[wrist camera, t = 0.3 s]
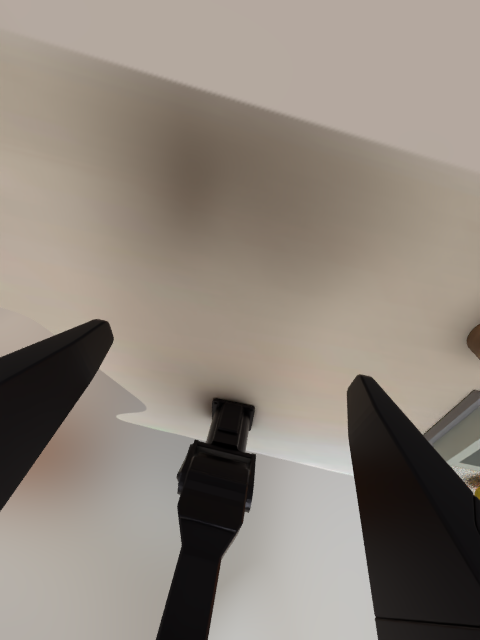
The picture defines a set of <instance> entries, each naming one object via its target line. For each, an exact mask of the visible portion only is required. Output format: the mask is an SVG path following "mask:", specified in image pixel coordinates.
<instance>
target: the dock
mask: <svg viewBox="0 0 480 640" xmlns="http://www.w3.org/2000/svg"><path fill="white" fill-rule="evenodd" d="M423 436H424V437H425V438H426V439H427V440H428V442H429V443H430V444H431V445H432V446H433V447H434V448H435V450H436V451H437V452H438V453H439V454H440V455H441V456H442V458H443V459H444V460H445V461H446V462H447V463H448V464H449V466H453V467H458V468H462V469H467V470H472V471H476V472H480V391H475V390H474V391H473V392H472V393H471V394H469V395H468V396H467V397H466V398H465V399H464V400H463V401H462V402H460V403H459V404H458V405H457V406H456V407H455V408H454V409H452V410H451V411H450V412H449V413H448V414H447V415H446V416H445V417H443V418H442V419H441V420H440V421H439V422H438V423H437V424H436V425H434V426H433V427H432V428H431V429H430V430H429V431H428V432H426V433H425V434H424V435H423Z"/></svg>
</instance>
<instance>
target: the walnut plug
mask: <svg viewBox="0 0 480 640" xmlns="http://www.w3.org/2000/svg"><path fill="white" fill-rule="evenodd" d="M467 345H468V347H469V348H470V350H471V351H472V352H473V353H474V354H475V355H476V356H477V357H478V358H479V360H480V324H479V325H478V326H476V327H475V328H474V329H473V330H472V331H471V333H470V334H469V336H468V338H467Z"/></svg>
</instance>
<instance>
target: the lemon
mask: <svg viewBox="0 0 480 640" xmlns="http://www.w3.org/2000/svg"><path fill="white" fill-rule="evenodd" d="M475 496H477V497H478V499H479V500H480V486H479V487H478V488H477V489H476V491H475Z"/></svg>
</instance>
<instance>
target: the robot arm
mask: <svg viewBox="0 0 480 640" xmlns="http://www.w3.org/2000/svg"><path fill="white" fill-rule="evenodd" d="M113 340H114V337H113V334H112V330H111V327H110V324H109V323H108V322H107V321H104V320H100V319H94V320H92V321H89V322H87V323H84V324H82V325H79V326H77V327H74V328H72V329H70V330H67V331H65V332H62V333H60V334H57V335H55V336H52V337H50V338H47V339H45V340H42V341H40V342H37V343H35V344H32V345H30V346H27V347H25V348H22V349H20V350H18V351H15V352H13V353H10V354H8V355H5V356H3V357H0V510H2V508H3V507H4V506H5V504H6V503H7V501H8V500H9V498H10V497H11V495H12V494H13V493H14V491H15V490H16V488H17V487H18V485H19V484H20V483H21V481H22V480H23V478H24V477H25V475H26V474H27V473H28V471H29V470H30V468H31V467H32V465H33V464H34V463H35V461H36V460H37V458H38V457H39V455H40V454H41V452H42V451H43V450H44V448H45V447H46V445H47V444H48V442H49V441H50V440H51V438H52V437H53V435H54V434H55V432H56V431H57V429H58V428H59V427H60V425H61V424H62V422H63V421H64V420H65V418H66V417H67V415H68V414H69V412H70V411H71V410H72V408H73V407H74V405H75V404H76V402H77V401H78V400H79V398H80V397H81V395H82V394H83V392H84V391H85V389H86V388H87V387H88V385H89V384H90V382H91V381H92V379H93V377H94V376H95V374H96V372H97V371H98V369H99V367H100V365H101V364H102V362H103V360H104V358H105V356H106V354H107V353H108V351H109V349H110V347H111V345H112V343H113ZM254 412H255V407H253V406H249V405H244V404H239V403H234V402H229V401H225V400H220V399H213V402H212V423H211V427H210V430H209V434H208V437H207V441H206V443H204V442H200V441H199V440H195V441H194V443H193V444H191V445H190V447H189V450H188V453H187V456H186V458H185V460H184V462H183V464H182V466H181V468H180V470H179V472H178V474H177V479H178V482H179V483H178V494H179V495H180V498H179V502H178V506H177V507H178V517H179V525H180V534H181V542H182V547H181V551H180V554H179V558H178V562H177V565H176V569H175V572H174V576H173V580H172V583H171V587H170V590H169V594H168V598H167V601H166V605H165V609H164V612H163V616H162V619H161V623H160V627H159V631H158V634H157V638H156V640H208V635H209V628H210V623H211V617H212V611H213V605H214V599H215V594H216V587H217V582H218V576H219V570H220V563H221V559H222V558H223V556H224V555H225V553H226V552H227V550H228V548H229V547H230V545H231V544H232V542H233V541H234V539H235V538H236V536H237V534H238V532H239V530H240V528H241V526H242V524H243V519H244V512H248V513H249V510H250V507H251V502H252V496H253V487H254V475H255V461H256V454H249V453H245V451H246V444H247V437H248V431H250V430H251V426H252V421H253V417H254ZM347 413H348V437H349V445H350V452H351V459H352V465H353V472H354V479H355V485H356V492H357V499H358V506H359V512H360V519H361V526H362V532H363V540H364V546H365V553H366V559H367V566H368V573H369V580H370V587H371V593H372V600H373V606H374V614H375V616H376V618H375V621H376V628H377V635H378V640H480V500H479V499H478V497H477V496H475V495H473V492H472V491H471V490H470V488H469V487H468V486H467V485H466V484H465V483H464V482H463V480H462V479H461V478H460V477H459V476H458V475H457V474H456V472H455V471H454V470H453V469H452V468H451V467H450V466H449V464H448V463H447V462H446V461H445V460H444V459H443V458H442V456H441V455H440V454H439V453H438V452H437V451H436V450H435V448H434V447H433V446H432V445H431V444H430V443H429V442H428V440H427V439H426V438H425V437H424V436H423V435H422V434H421V432H420V431H419V430H418V429H417V428H416V427H415V426H414V424H413V423H412V422H411V421H410V420H409V419H408V418H407V416H406V415H405V414H404V413H403V412H402V411H401V410H400V408H399V407H398V406H397V405H396V404H395V403H394V402H393V400H392V399H391V398H390V397H389V396H388V395H387V394H386V392H385V391H384V390H383V389H382V388H381V387H380V386H379V384H378V383H377V382H376V381H375V380H374V379H373V378H372V377H370V376H366V375H361V374H359V375H357V376H356V378H355V379H354V380H353V382H352V383H351V385H350V386H349V388H348V390H347Z"/></svg>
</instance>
